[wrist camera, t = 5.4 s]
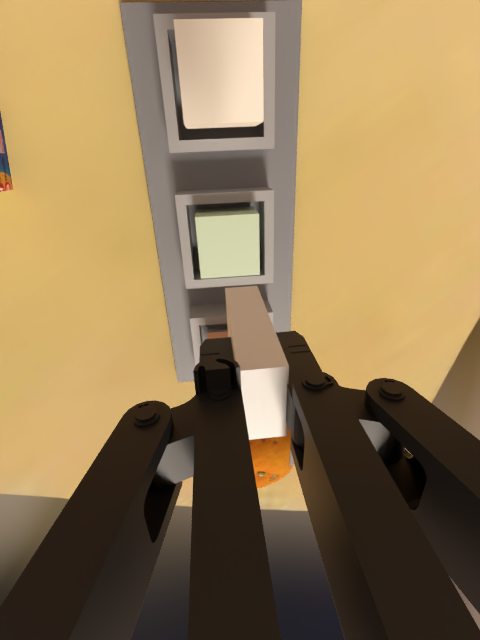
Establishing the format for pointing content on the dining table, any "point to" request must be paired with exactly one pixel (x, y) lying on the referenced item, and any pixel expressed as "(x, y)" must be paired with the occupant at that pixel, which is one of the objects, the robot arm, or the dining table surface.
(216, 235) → the button sage
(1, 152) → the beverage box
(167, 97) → the button board
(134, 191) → the dining table surface
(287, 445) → the fruit
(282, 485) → the dining table surface
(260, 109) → the button ivory
